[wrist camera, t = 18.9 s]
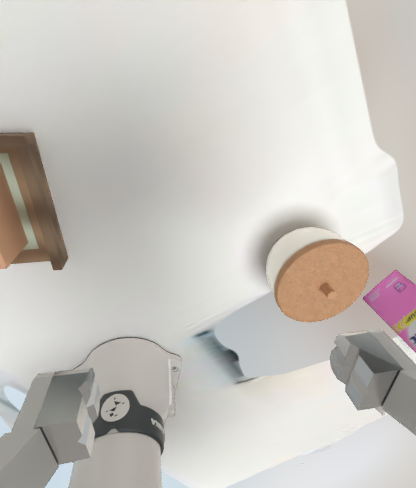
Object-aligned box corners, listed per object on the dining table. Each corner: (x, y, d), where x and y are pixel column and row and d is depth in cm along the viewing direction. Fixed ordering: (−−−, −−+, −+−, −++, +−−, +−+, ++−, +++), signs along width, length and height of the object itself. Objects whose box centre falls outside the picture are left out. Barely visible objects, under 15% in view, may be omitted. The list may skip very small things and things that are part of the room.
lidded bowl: (320, 198, 40) (372, 232, 31) (339, 261, 46) (386, 306, 37) (242, 239, 41) (268, 283, 32) (270, 295, 48) (299, 347, 38)
